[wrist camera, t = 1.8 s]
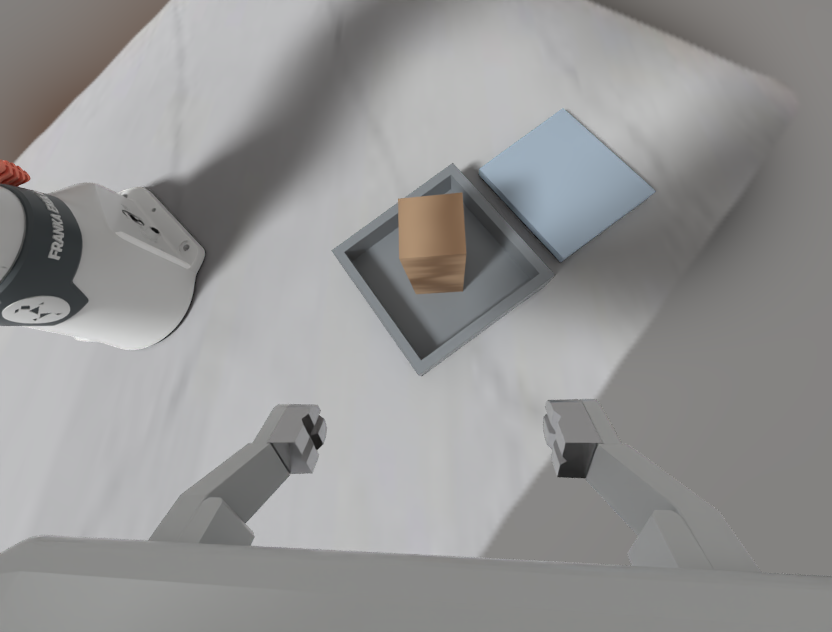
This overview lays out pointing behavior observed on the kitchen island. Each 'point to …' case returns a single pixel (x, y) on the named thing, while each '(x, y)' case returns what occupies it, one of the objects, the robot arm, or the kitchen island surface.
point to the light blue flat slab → (564, 184)
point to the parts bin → (453, 311)
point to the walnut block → (433, 242)
